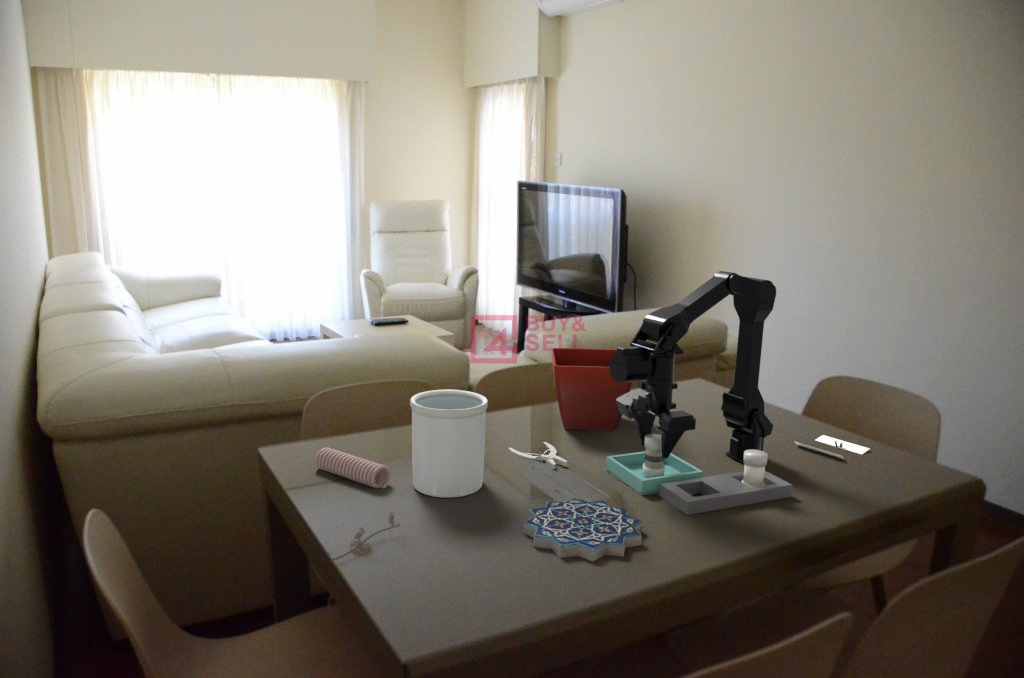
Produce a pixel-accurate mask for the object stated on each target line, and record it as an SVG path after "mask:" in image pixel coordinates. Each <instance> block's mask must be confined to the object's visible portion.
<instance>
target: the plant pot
mask: <svg viewBox="0 0 1024 678" xmlns="http://www.w3.org/2000/svg"><path fill="white" fill-rule="evenodd" d="M550 351H551V353H550V354H551V363H552V371H553V377H554V378H553V379H554V385H555V392H556V398H557V405H558V409H559V415H560V418H561V422H562V426H563V428H564V429H566V430H587V431H588V430H589V431H592V430H593V431H615V430H617V428H618V426H619V424H620V421H621V419H622V417H623V416H624V415H623V414H622V415H621V414H620V412H619V408H618V405H617V401H616V399H617V398H618V397H620V396H622V395H624V394H625V393H628V392H630V391H631V389H632V385H633V381H631V382H623V383H617V382H616V381H615V380H614V379H613V378H612V376H611V373H610V369H609V363H610V362H611V359H612V357H613V355H614V354H616V353H617V349H612V348H611V349H610V348H609V349H603V348H574V347H573V348H572V347H571V348H569V347H566V348H565V347H554V348H551V349H550Z"/></svg>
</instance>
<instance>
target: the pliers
mask: <svg viewBox="0 0 1024 678" xmlns="http://www.w3.org/2000/svg"><path fill="white" fill-rule="evenodd" d="M543 443H544V444H545V445H546V446H545V447H546V448H547V450H545V451H544V452H543V453H542V454H538V453H531V452H527V453H526V452H521V451H519V450H516V449H514V448H512V447H511V446H510V447H508V451H510V452H511V453H512V454H513V455H516V456H518V457H521V458H524V459H527V460H532V459H535V458H536V457H538V456H532V455H540V456H539V457H538V458H540V459H544V461H545V460H547V462H549V463H550V464H552V465H556V466H557V464H556V463H555V462H558V463H561V464H563V465H567V466H568V461H567V460H566V459H564V458H563V457H561V456H558V455H557V454H558V452H557V449H556V448H555V446H553V445H552V444H550V443H549V442H547V441H543V442H542V444H543ZM544 444H543V445H544ZM548 448H549V449H548ZM547 451H550V452H547ZM546 452H547V453H548V454H547V453H546ZM545 453H546V454H545ZM556 453H557V454H556ZM544 454H545V455H544ZM554 461H555V462H554Z"/></svg>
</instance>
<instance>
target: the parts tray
mask: <svg viewBox="0 0 1024 678" xmlns="http://www.w3.org/2000/svg"><path fill="white" fill-rule="evenodd" d="M605 458H606V462H605V471H606V470H607V472H608V471H609V472H610V473H612V474H613V475H615V476H616V477H617V478H616V477H615V476H614V477H615V478H616V479H618V478H619V479H620V480H622V481H623V482H625V483H626V484H627V485H629V486H630V487H631V488H630V487H629V486H628V487H629V488H630V489H632V488H633V489H634V490H633V489H632V490H633V491H635V492H636V491H637V492H638V493H637V492H636V493H637V494H639V495H640V494H641V495H640V496H646V495H652V494H653V495H654V494H659V493H660V484H664V483H670V482H677V481H683V480H690V479H696V478H703V477H704V471H703V470H701V469H699V468H698V467H696V466H694V465H693V464H691V463H689V462H687V461H685V460H684V459H682V458H681V457H679V456H677V455H675V454H674V453H672V452H671V454H670V455H669V457H668V458H665V459H664V464H663V465H664V466H665V470H664V476H659V477H653V478H647V477H644V476H643V475H642V469H643V463H644V462H645V450H644V451H639V452H637V451H636V452H630V453H629V452H628V453H623V454H615V455H608V456H606V457H605ZM609 472H608V473H609ZM610 473H609V474H610ZM612 474H611V475H612ZM613 475H612V476H613ZM619 479H618V480H619ZM620 480H619V481H620ZM622 481H621V482H622ZM623 482H622V483H623ZM625 483H624V484H625ZM626 484H625V485H626ZM627 485H626V486H627Z"/></svg>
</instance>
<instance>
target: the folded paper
mask: <svg viewBox="0 0 1024 678" xmlns="http://www.w3.org/2000/svg"><path fill="white" fill-rule="evenodd" d="M793 441H794V443H795V444H796V445H797V446H799V447H802V448H805V449H807V450H812V451H815V452H818V453H821V454H825V455H828V456H832V457H834V458H838V459H841V460H843V461H845V460H846V458H844V456H843V455H841V454H837V453H834V452H831V451H828V450H825V449H821V448H818V447H816V446H815V447H814V446H812V445H811V446H810V445H807V444H806V443H805V444H804V443H801V442H799V441H795V440H793ZM814 441H816V442H819V443H823V444H825V445H829V446H832V447H834V448H837V449H838V448H839V449H842V450H845V451H849V452H852V453H855V454H859V455H863V454H865V453H867V452H868V451H869V450H870V449H871V448H869V447H867V446H862V445H860V444H856V443H852V442H849V441H846V440H842V439H840V438H839V439H838V438H836V437H832V436H828V435H825V434H822V435H820V436H818V437H817V438H816V439H814Z"/></svg>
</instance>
